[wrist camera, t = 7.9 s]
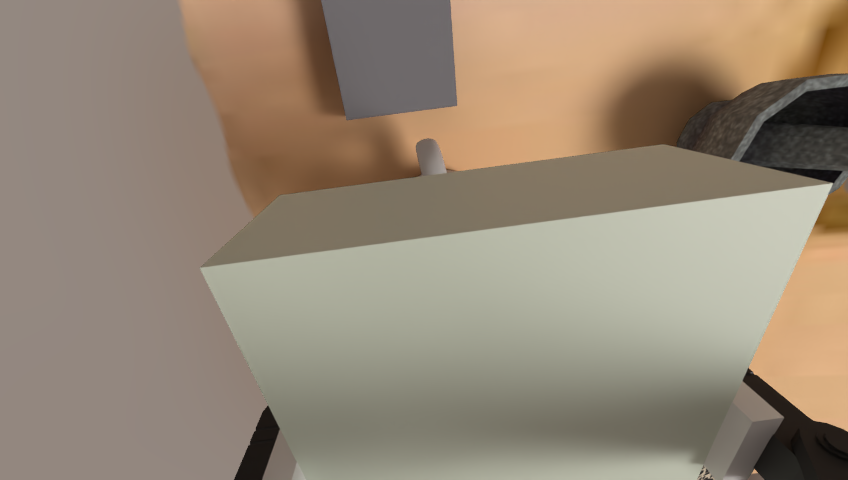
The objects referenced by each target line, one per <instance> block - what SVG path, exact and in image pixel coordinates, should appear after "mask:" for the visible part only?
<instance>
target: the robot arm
mask: <svg viewBox="0 0 848 480" xmlns="http://www.w3.org/2000/svg"><path fill="white" fill-rule="evenodd" d="M703 465H704V466H705V467H706V469H707V470H708V471H709V472H710V474H711V475H712V476H713V477H714V479H715V480H748V478H749V477H750V475H751V473H752V472H753V470H754V469H755V470H756V471H757V472H758V473H759V474H760V475H761V476H762V477H763V478H764V480H848V432H847V431H845V430H843V429H841V428H838V427H836V426H833V425H830V424H828V423H822V422H816V421H813V420H811V419H810V418H809V417H807V416H806V415H805V414H804V413H802V412H801V411H800V410H799V409H798V408H796V407H795V406H794V405H793V404H791V403H790V402H789V401H788V400H787V399H785V398H784V397H783V396H782V395H780V394H779V393H778V392H777V391H776V390H774V389H773V388H772V387H771V386H770V385H768V384H767V383H766V382H765V381H763V380H762V379H761V378H760V377H759V376H757V375H754V374H753V372H752V371H751V370H750V369H749V368H748V370H747V372H746V374H745V376H744V378H743V380H742V383H741V385H740V387H739V389H738V391H737V394H736V396H735V398H734V400H733V402H732V403H731V405H730V407H729V410H728V412H727V414H726V416H725V418H724V421H723V423H722V425H721V427H720V429H719V431H718V434H717V436H716V438H715V440H714V442H713V445H712V447H711V449H710V451H709V453H708V455H707V458H706V460H705V462H704V464H703ZM234 480H306V479H305V477H304V474H303V472H302V470H301V468H300V466H299V464H298V462H296V460H295V458H294V456H293V454H292V452H291V450H290V448H289V446H288V444H287V442H286V440H285V438H284V436H283V434H282V432H281V430H280V428H279V426H278V424H277V422H276V420H275V418H274V416H273V414H272V412H271V410H270V408H269V406H267V408H266V409H265V410H264V411H263V413H262V415H261V417H260V420H259V422H258V424H257V427H256V431H255V432H254V434H253V436H252V439H251V441H250V445H249V446H248V448H247V450H246V453H245V455H244V458H243V460H242V462H241V465H240V467H239V469H238V472H237V474H236V477H235V479H234Z"/></svg>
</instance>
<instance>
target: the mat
mask: <svg viewBox="0 0 848 480" xmlns="http://www.w3.org/2000/svg"><path fill="white" fill-rule="evenodd" d="M321 2H322V7H323V12H324V16H325V21H326V26H327V31H328V35H329V40H330V45H331V49H332V54H333V59H334V64H335V68H336V73H337V78H338V82H339V87H340V92H341V97H342V101H343V106H344V111H345V115H346V120H352V119H360V118H368V117H375V116H383V115H390V114H398V113H406V112H413V111H421V110H428V109H436V108H444V107H451V106H457V96H456V81H455V66H454V51H453V36H452V21H451V6H450V0H321Z"/></svg>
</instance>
